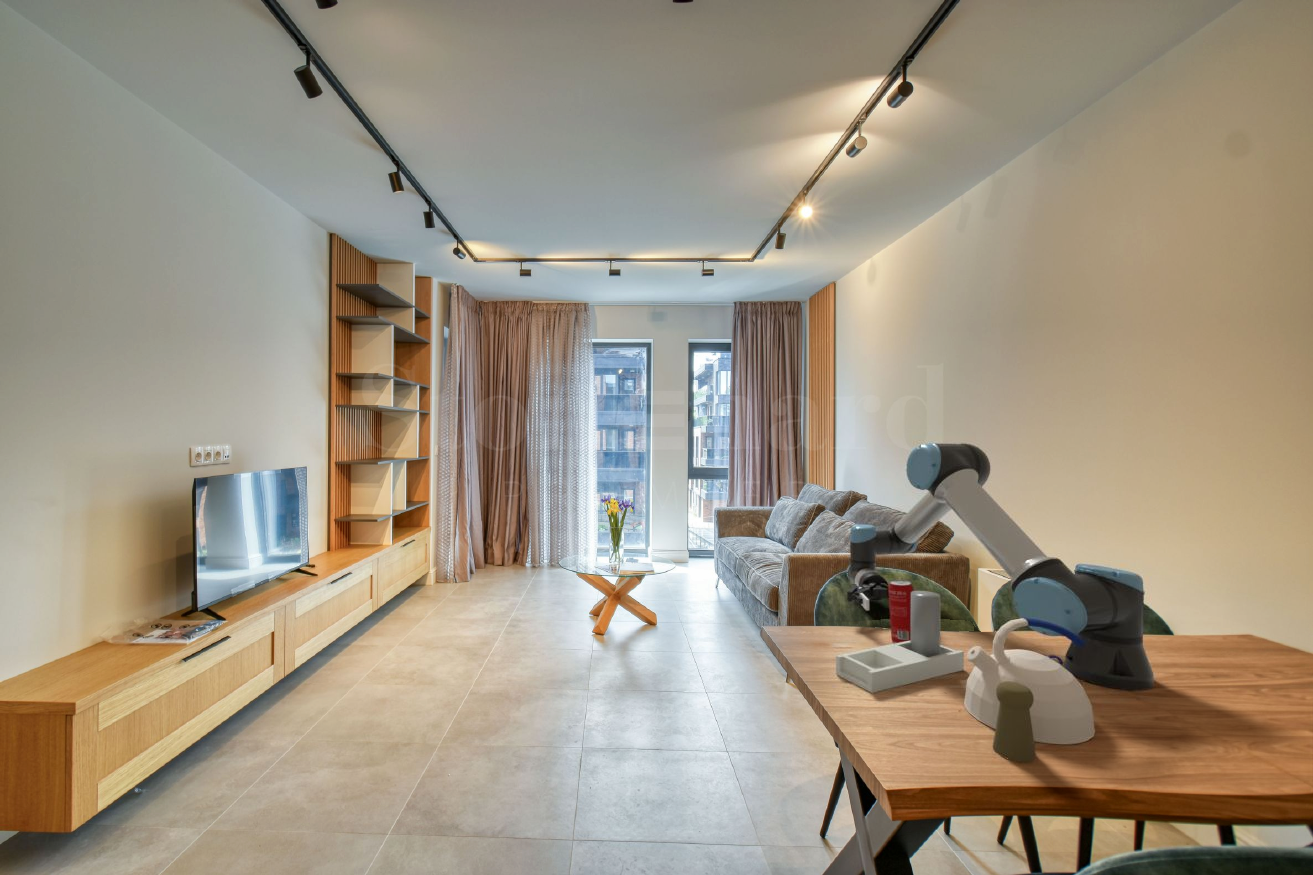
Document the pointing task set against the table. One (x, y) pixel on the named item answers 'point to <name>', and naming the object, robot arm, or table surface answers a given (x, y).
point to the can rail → (904, 652)
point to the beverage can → (900, 610)
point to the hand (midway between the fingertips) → (895, 605)
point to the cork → (1014, 723)
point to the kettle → (1031, 687)
